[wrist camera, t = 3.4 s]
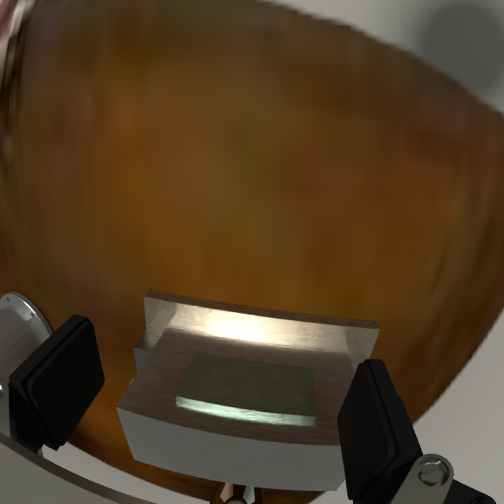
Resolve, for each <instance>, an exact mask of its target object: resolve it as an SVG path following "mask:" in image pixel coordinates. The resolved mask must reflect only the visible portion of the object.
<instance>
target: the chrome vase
mask: <svg viewBox="0 0 504 504" xmlns="http://www.w3.org/2000/svg"><path fill="white" fill-rule="evenodd" d="M210 504H262V496H261V487H253V486H245V485H238V484H232V483H226V482H219V484H218V486H217V488H216V490H215V492H214V494H213V496H212V499H211V501H210Z"/></svg>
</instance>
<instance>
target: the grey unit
mask: <svg viewBox="0 0 504 504" xmlns="http://www.w3.org/2000/svg"><path fill="white" fill-rule="evenodd" d="M144 304H145V317H146V328H147V330H146V331H145V332H144V334H143V335H142V337H141V338H140V339H139V341H138V342H137V343H136V345H135V346H134V354H135V360H136V366H137V372H138V373H137V374H136V376H135V377H134V379H133V381H132V382H131V384H130V385H129V387H128V389H127V390H126V392H125V393H124V395H123V397H122V398H121V400H120V401H119V403H118V405H117V406H116V408H117V411H118V415H119V418H120V421H121V424H122V427H123V430H124V433H125V436H126V439H127V441H128V444H129V447H130V450H131V452H132V455H133V457H134V459H135V460H138V461H141V462H144V463H147V464H150V465H154V466H157V467H160V468H164V469H167V470H171V471H175V472H179V473H183V474H187V475H191V476H195V477H200V478H204V479H209V480H214V481H220V482H226V483H232V484H238V485H245V486H253V487H262V488H272V489H285V490H306V491H336V490H337V489H338V488H339V486H340V485H341V484H342V483H343V481H344V480H345V473H344V466H343V459H342V452H341V446H340V439H339V433H338V427H337V416H338V413H339V411H340V409H341V406H342V404H343V402H344V399H345V397H346V395H347V392H348V390H349V387H350V385H351V382H352V380H353V377H354V375H355V372H356V369H357V367H358V365H359V363H363V362H364V360H365V359H369V357H370V355H371V352H372V350H373V347H374V344H375V341H376V339H377V336H378V333H379V330H380V328H379V326H378V324H377V322H376V321H372V320H361V319H350V318H340V317H331V316H322V315H313V314H304V313H296V312H288V311H280V310H273V309H265V308H258V307H251V306H244V305H237V304H231V303H224V302H218V301H212V300H205V299H199V298H193V297H188V296H182V295H176V294H171V293H165V292H160V291H154V290H150V291H149V292H148V293H147V294H146V295H145V296H144Z"/></svg>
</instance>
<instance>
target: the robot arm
mask: <svg viewBox="0 0 504 504" xmlns="http://www.w3.org/2000/svg"><path fill="white" fill-rule="evenodd" d="M104 381H105V378H104V373H103V369H102V365H101V360H100V356H99V351H98V347H97V342H96V336H95V331H94V326H93V324H92V323H91V322H90V320H89V318H87V317H83V316H80V315H73V316H71V317H70V318H69V319H68V320H67V321H66V322H65V323H64V324H63V325H61V326H60V327H59V328H58V329H57V330H56V331H55V332H54V333H53V331H52V329H51V327H50V325H49V324H48V322H47V320H46V319H45V317H44V316H43V314H42V313H41V312H40V311H39V309H38V308H37V307H36V306H35V305H34V304H33V303H32V302H31V301H30V300H29V299H28V298H26V297H25V296H23V295H22V294H20V293H17V292H8V293H6V294H5V295H4V296H2V298H1V299H0V504H156V503H152V502H149V501H145V500H142V499H139V498H136V497H132V496H130V495H127V494H124V493H121V492H118V491H116V490H113V489H110V488H108V487H105V486H103V485H100V484H97V483H95V482H93V481H90V480H88V479H85V478H83V477H81V476H79V475H77V474H74V473H72V472H70V471H68V470H66V469H64V468H62V467H60V466H58V465H56V464H54V463H53V462H51V461H49V460H47V459H45V458H43V453H42V446H43V445H44V444H45V445H46V446H48V447H49V448H51V449H53V450H55V451H57V450H58V448H59V447H60V446H63V445H64V444H65V443H66V442H67V440H68V438H69V437H70V435H71V434H72V432H73V430H74V429H75V427H76V426H77V424H78V423H79V421H80V420H81V418H82V417H83V415H84V414H85V412H86V410H87V409H88V407H89V406H90V404H91V403H92V401H93V400H94V398H95V397H96V395H97V394H98V392H99V391H100V389H101V388H102V387H103V385H104ZM337 427H338V433H339V439H340V446H341V452H342V459H343V466H344V473H345V480H346V487H347V495H348V499H349V500H353V504H496V502H495V501H494V499H493V498H491V497H490V496H488V495H486V494H484V493H482V492H479V491H477V490H475V489H473V488H471V487H469V486H467V485H465V484H462V483H460V482H458V481H456V480H454V479H453V476H454V472H453V467H452V465H451V463H450V462H449V461H448V460H447V459H446V458H444V457H443V456H441V455H437V454H426V455H423V453H422V450H421V447H420V444H419V442H418V439H417V437H416V434H415V431H414V429H413V426H412V424H411V421H410V418H409V416H408V413H407V411H406V409H405V406H404V404H403V401H402V399H401V398H400V397H399V396H398V395H397V393H396V390H395V388H394V385H393V383H392V381H391V378H390V376H389V374H388V371H387V369H386V367H385V365H384V362H383V361H382V360H381V359H365V360H364V362H363V363H359V365H358V367H357V369H356V372H355V375H354V377H353V380H352V382H351V385H350V387H349V390H348V392H347V395H346V397H345V399H344V402H343V404H342V406H341V409H340V411H339V413H338V416H337Z"/></svg>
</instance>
